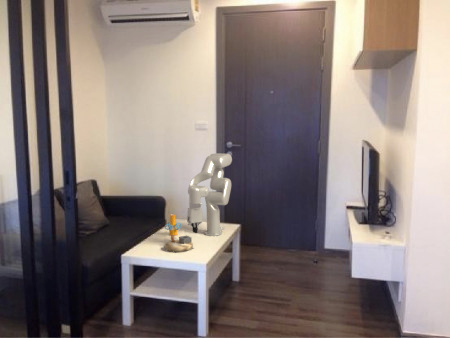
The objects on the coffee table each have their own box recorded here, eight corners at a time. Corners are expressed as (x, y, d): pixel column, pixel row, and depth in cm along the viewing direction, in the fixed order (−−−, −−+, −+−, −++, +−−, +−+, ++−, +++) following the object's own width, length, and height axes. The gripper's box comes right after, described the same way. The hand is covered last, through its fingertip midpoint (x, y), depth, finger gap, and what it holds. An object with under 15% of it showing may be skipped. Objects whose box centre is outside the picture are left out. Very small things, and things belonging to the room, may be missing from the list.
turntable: (183, 241, 295) (182, 232, 294) (198, 247, 281) (197, 238, 280) (160, 246, 284) (159, 237, 283) (174, 253, 270) (174, 243, 269)
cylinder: (177, 237, 308) (177, 217, 306) (163, 236, 310) (163, 216, 308) (182, 232, 320) (182, 213, 318) (169, 232, 322) (168, 212, 320)
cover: (186, 240, 290) (186, 235, 289) (191, 242, 285) (191, 237, 285) (179, 242, 286) (178, 237, 286) (183, 244, 281) (183, 238, 281)
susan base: (182, 243, 293) (182, 243, 293) (193, 248, 282) (193, 248, 282) (164, 247, 284) (164, 247, 284) (175, 253, 273) (175, 252, 273)
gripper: (200, 203, 295) (201, 230, 297) (182, 206, 286) (182, 233, 288) (207, 205, 289) (207, 232, 291) (188, 207, 280) (188, 235, 282)
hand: (195, 232), depth 289 cm, fingers closed
